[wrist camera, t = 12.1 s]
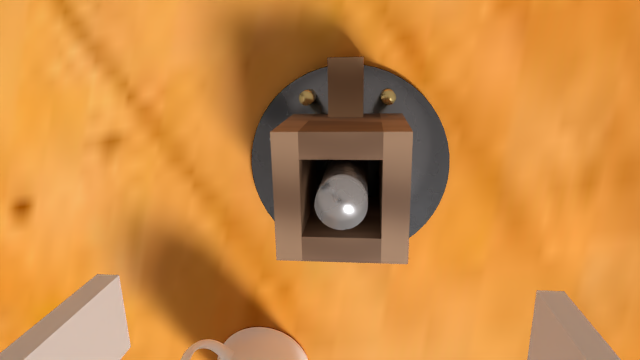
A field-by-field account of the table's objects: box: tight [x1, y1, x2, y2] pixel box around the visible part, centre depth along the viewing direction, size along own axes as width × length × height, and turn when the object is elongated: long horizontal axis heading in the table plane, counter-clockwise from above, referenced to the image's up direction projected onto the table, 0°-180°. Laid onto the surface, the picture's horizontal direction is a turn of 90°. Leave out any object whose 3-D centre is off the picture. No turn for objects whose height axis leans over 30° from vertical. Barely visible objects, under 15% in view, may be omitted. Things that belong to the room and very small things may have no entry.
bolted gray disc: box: [252, 65, 449, 238], centre depth 29 cm, size 15×15×9 cm
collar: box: [270, 57, 413, 264], centre depth 29 cm, size 12×8×8 cm, turn 1°
